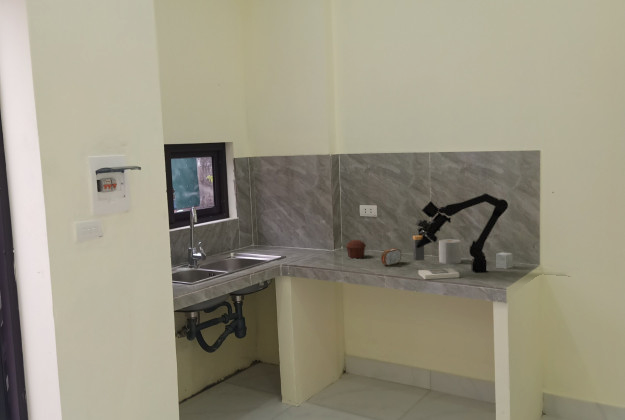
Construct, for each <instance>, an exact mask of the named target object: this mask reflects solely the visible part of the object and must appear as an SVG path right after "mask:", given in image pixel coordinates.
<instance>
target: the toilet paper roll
mask: <svg viewBox="0 0 625 420" xmlns="http://www.w3.org/2000/svg"><path fill="white" fill-rule="evenodd" d="M438 260H439V261H438V262H439V263H440V264H444V265H457V264H461V263H462V241H461V239H456V238H455V239H454V238H453V239H452V238H451V239H450V238H449V239H448V238H447V239H446V238H445V239H440V240H438Z"/></svg>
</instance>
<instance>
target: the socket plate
mask: <svg viewBox="0 0 625 420" xmlns="http://www.w3.org/2000/svg"><path fill="white" fill-rule="evenodd" d="M418 275H419V276H420V277H422V278H423V279H424V280H434V279H435V280H436V279H437V280H439V279H454V278H460V272H458V271H457V270H455V269H453V268H438V269H435V268H434V269H419V270H418Z"/></svg>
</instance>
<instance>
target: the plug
mask: <svg viewBox="0 0 625 420" xmlns="http://www.w3.org/2000/svg"><path fill="white" fill-rule="evenodd" d="M421 239H422V235H412V247H413V250H412V251H413V254H412V255H413V260H414V261H425V245H424V246H422V247H420V248H417V247H416V246H417V245H418V243H419V242H420V240H421Z"/></svg>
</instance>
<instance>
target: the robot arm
mask: <svg viewBox="0 0 625 420" xmlns="http://www.w3.org/2000/svg"><path fill="white" fill-rule="evenodd" d="M507 201H508V200H506V199H504V198H503V197H502V198H500V197H499V198H497V197H495V196H493V195H491V194H489V193H487V192H484V193H482V194H480V195H476V196H474V197H470V198H467V199H465V200H463V201H458V202H451V203H447V204H445V205H444V206H439V207H438V206H437V205H436V204H434V202H433V201H432V200H430V201H429V202H428V203H427V204H426V205H424V207H423V208H422V209H421V211H422V212H423V214H425V215H426V216H427V217H428V219H429V218H430V219H431V218H433V219H432V220H431V221H428V220H426V219H419V218H417V220H416V223H415V226H417V227H418V228H417V230H416V231H417V233H418V234H417V236H419V235H422V239H421V240H420V242H419V243H418V245H417V246H416V247H417V248H420V247H422V246H424V247H425V246H427V245H429V244H430V243H436V242H437V241H438V236H436V234H437V233H438V232H441V228H442V227H444V225H445V224H446V223H448V224H451V222H452V221H451V217H452V216H454V215H456V214H458V213H460V212H461V211H463V210H465V209H468V208H471V207H474V206H476V205H480V204H482V203H487V204H490V205H492V206H493V208H492V211H491V215H490V216H489V218H488V219H487V221H486V223H485V225H484V227H483V228H482V230H481V232H480V233H479V235H478V236H477V238H476V239H472V241H471V243H470V244H469V245H468V248H469V249H468V251H469V255H470V257H472V261H471V263H470V264H471V265H470V266H471V272H474V273H475V274H476V273H488V270H487V259H486V254H485V252H483V250H484V246H485V242H486V241H487V239H488V237H489V236H490V233H491V232H492V230H493V229H494V227H495V226H496V223H497V222H498V219H500V217H501V216H502V215H503V214H504V213H505V212H506V210H507V209H508V207H509V203H508V202H507Z"/></svg>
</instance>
